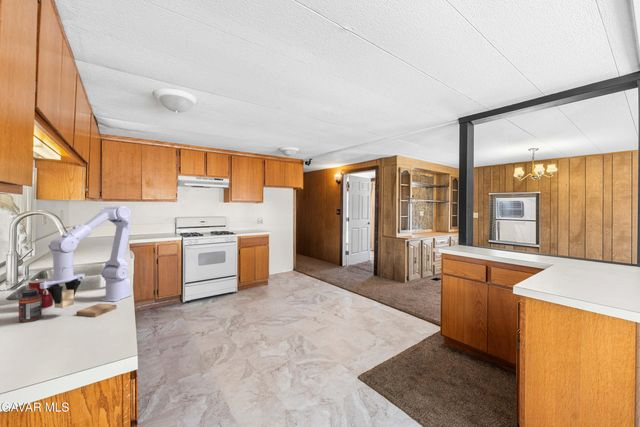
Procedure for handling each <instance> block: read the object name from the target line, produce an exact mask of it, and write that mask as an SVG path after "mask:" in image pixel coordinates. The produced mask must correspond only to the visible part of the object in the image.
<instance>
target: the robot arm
mask: <svg viewBox="0 0 640 427" xmlns="http://www.w3.org/2000/svg"><path fill="white" fill-rule="evenodd" d="M131 216H132V211H131V210H130V208H128V207H127V206H125V205H122V206H117V205H116V206H112V205H107V206H105V207H103V208H101V209H100V211H99V212H98V213H97V214H95V215H94V216H93V217H91V219H89V220H87V222H85V223H84V224H78V225H77V224H75V225H73V226H72V228H71V229H69V231H66V232H65V233H62V234H61V236H59V237H58V236H57V237H55V238H53V239H52V240H51V242H50V243H49V244H48V246H47V247H48V249H49V250H50V251H51V253H52V261H53V262H52V263H53V265H52V266H53V267H52V268H53V279H52V280H50V281H47V282H44V283H40V289H45V288H46V289H47V290H48V292H49V293H50V294H51V296H52V298H53V304H54V303H55V304H60V303H61V293H62V290H64V285H65V289H68V290H74V297H75V295H76V292H77V290H78V288H79V287H80V285H81V283H82V282H81V280H84V279H85V278H86V274H85V273H78V274H75V273H74V251H75V250H76V249H77V247H78V244H80V243H81V242H83V240H85V239H86V238H87V237H89V236H90V235H91V231H92V230H93V229H95V228H97V227H98V226H100V225H101V224H103V223H105V222H106V221H109V222H111V223H113V225H115V227H116V228H115V233H114V239H113V243H112V248H111V252H110V253H111V254H110V258H109V259H108V260H107V261H106V262H105V263H104V267H103V268H102V269H101V272H100V273H101V274H100V275H101V277H102V278H103V279H104V281H105V297H104V298H101V299H100V301H101V302H102V301H103V302H118V301H119V300H123V299H126V298H128V297H131V296H132V295H133V294H132V290H131V289H132V288H131V287H132V286H131V279H130V278H128V276H129V272H130V271H129V262H127V261H126V260H125V257H126V253H127V247H128V243H129V236H130V231H131V226H132V222H131ZM63 284H64V285H63ZM61 285H62V286H61Z"/></svg>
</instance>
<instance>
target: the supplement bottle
mask: <svg viewBox="0 0 640 427" xmlns="http://www.w3.org/2000/svg"><path fill="white" fill-rule="evenodd" d="M37 293H38V290H37V289H31V290H28V289H27V290H23V291H22V296H21V297H19V299H18V320H19V323H20V322H21V323H28V322H29V323H30V322H34V321H36V320H40V319H41V318H42V314H43V310H42V299H41V295H39V294H37Z"/></svg>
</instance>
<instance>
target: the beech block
mask: <svg viewBox="0 0 640 427" xmlns="http://www.w3.org/2000/svg"><path fill="white" fill-rule="evenodd" d="M74 305H75V296H74V290H68V289H66V288H65V289H62V293H61V303H60V304H55V303H54V302H53V306H54V308H56V309H65V308H67V307H71V306H74Z"/></svg>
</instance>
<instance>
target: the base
mask: <svg viewBox="0 0 640 427" xmlns="http://www.w3.org/2000/svg"><path fill="white" fill-rule="evenodd" d="M116 309H117V304H107V303H97V304H94V305H92V306H89V307H85V308H83V309H80V310H77V311H76V316H80V317H90V318H91V317H92V318H96V317H98V316H102V315H104V314H107V313H109V312H111V311H114V310H116Z"/></svg>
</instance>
